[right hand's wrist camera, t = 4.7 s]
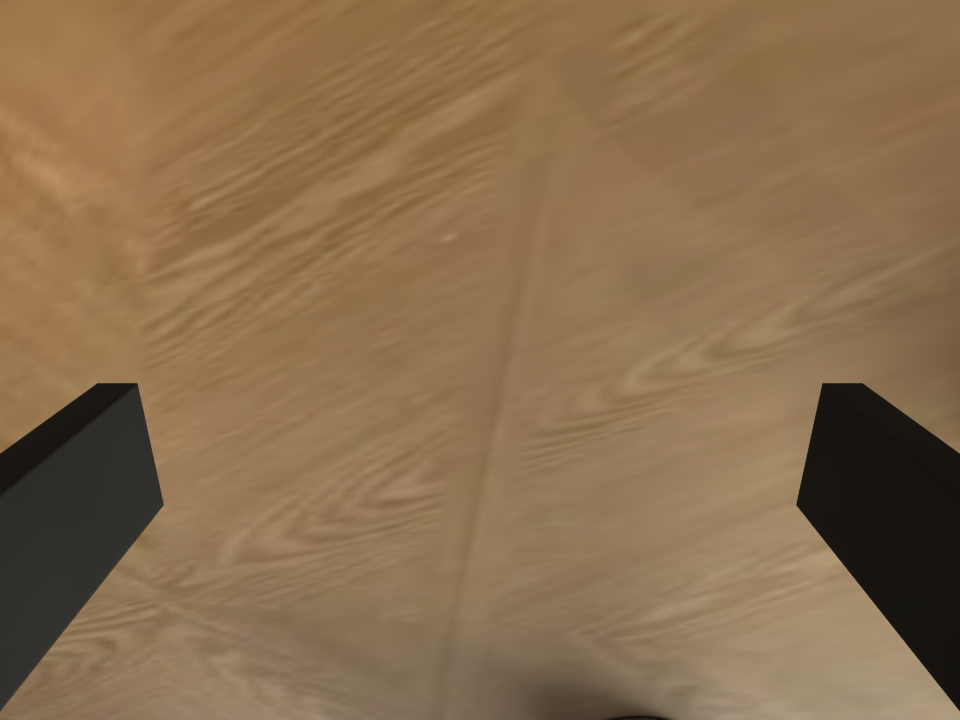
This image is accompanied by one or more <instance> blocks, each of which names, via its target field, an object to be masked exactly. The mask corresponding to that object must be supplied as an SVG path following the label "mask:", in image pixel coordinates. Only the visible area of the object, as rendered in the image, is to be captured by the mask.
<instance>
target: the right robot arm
mask: <svg viewBox="0 0 960 720" xmlns="http://www.w3.org/2000/svg"><path fill="white" fill-rule="evenodd" d="M163 505H164V504H163V499H162V494H161V490H160V485H159V481H158V476H157V471H156V467H155V462H154V457H153V453H152V448H151V444H150V439H149V434H148V430H147V425H146V420H145V416H144V411H143V407H142V402H141V397H140V393H139V388H138V383H97V384H96V385H94V386H93V387H92V388H90V389H89V390H88V391H86V392H85V393H83V394H82V395H81V396H79V397H78V398H77V399H75V400H74V401H72V402H71V403H70V404H68V405H67V406H65V407H64V408H63V409H61V410H60V411H59V412H57V413H56V414H54V415H53V416H52V417H50V418H49V419H48V420H46V421H45V422H43V423H42V424H41V425H39V426H38V427H36V428H35V429H34V430H32V431H31V432H30V433H28V434H27V435H25V436H24V437H23V438H21V439H20V440H19V441H17V442H16V443H14V444H13V445H12V446H10V447H9V448H7V449H6V450H5V451H3V452H2V453H1V454H0V711H1V710H2V708H3V707H4V706H5V705H6V703H7V702H8V701H9V699H10V698H11V697H12V696H13V694H14V693H15V692H16V691H17V689H18V688H19V687H20V686H21V684H22V683H23V682H24V681H25V679H26V678H27V677H28V676H29V674H30V673H31V672H32V670H33V669H34V668H35V667H36V665H37V664H38V663H39V662H40V660H41V659H42V658H43V657H44V655H45V654H46V653H47V652H48V650H49V649H50V648H51V647H52V645H53V644H54V643H55V641H56V640H57V639H58V638H59V636H60V635H61V634H62V633H63V631H64V630H65V629H66V628H67V626H68V625H69V624H70V623H71V621H72V620H73V619H74V618H75V616H76V615H77V614H78V612H79V611H80V610H81V609H82V607H83V606H84V605H85V604H86V602H87V601H88V600H89V599H90V597H91V596H92V595H93V594H94V592H95V591H96V590H97V589H98V587H99V586H100V585H101V583H102V582H103V581H104V580H105V578H106V577H107V576H108V575H109V573H110V572H111V571H112V570H113V568H114V567H115V566H116V565H117V563H118V562H119V561H120V560H121V558H122V557H123V556H124V554H125V553H126V552H127V551H128V549H129V548H130V547H131V546H132V544H133V543H134V542H135V541H136V539H137V538H138V537H139V536H140V534H141V533H142V532H143V531H144V529H145V528H146V527H147V526H148V524H149V523H150V522H151V520H152V519H153V518H154V517H155V515H156V514H157V513H158V512H159V510H160V509H161V508H162V507H163ZM796 505H797V507H798V508H799V509H800V510H801V512H802V513H803V514H804V515H805V517H806V518H807V519H808V520H809V522H810V523H811V524H812V526H813V527H814V528H815V529H816V531H817V532H818V533H819V534H820V536H821V537H822V538H823V539H824V541H825V542H826V543H827V544H828V546H829V547H830V548H831V549H832V551H833V552H834V553H835V554H836V556H837V557H838V558H839V560H840V561H841V562H842V563H843V565H844V566H845V567H846V568H847V570H848V571H849V572H850V573H851V575H852V576H853V577H854V578H855V580H856V581H857V582H858V583H859V585H860V586H861V587H862V589H863V590H864V591H865V592H866V594H867V595H868V596H869V597H870V599H871V600H872V601H873V602H874V604H875V605H876V606H877V607H878V609H879V610H880V611H881V612H882V614H883V615H884V616H885V618H886V619H887V620H888V621H889V623H890V624H891V625H892V626H893V628H894V629H895V630H896V631H897V633H898V634H899V635H900V636H901V638H902V639H903V640H904V641H905V643H906V644H907V645H908V647H909V648H910V649H911V650H912V652H913V653H914V654H915V655H916V657H917V658H918V659H919V660H920V662H921V663H922V664H923V665H924V667H925V668H926V669H927V670H928V672H929V673H930V674H931V676H932V677H933V678H934V679H935V681H936V682H937V683H938V684H939V686H940V687H941V688H942V689H943V691H944V692H945V693H946V694H947V696H948V697H949V698H950V699H951V701H952V702H953V703H954V705H955V706H956V707H957V708H958V710H959V711H960V454H959V453H958V452H957V451H955V450H954V449H953V448H951V447H950V446H948V445H947V444H946V443H944V442H943V441H941V440H940V439H939V438H937V437H936V436H935V435H933V434H932V433H930V432H929V431H928V430H926V429H925V428H924V427H922V426H921V425H919V424H918V423H917V422H915V421H914V420H912V419H911V418H910V417H908V416H907V415H906V414H904V413H903V412H901V411H900V410H899V409H897V408H896V407H895V406H893V405H892V404H890V403H889V402H888V401H886V400H885V399H883V398H882V397H881V396H879V395H878V394H877V393H875V392H874V391H872V390H871V389H870V388H868V387H867V386H866V385H864V384H863V383H822V388H821V393H820V397H819V402H818V407H817V411H816V416H815V420H814V425H813V430H812V434H811V439H810V444H809V448H808V453H807V457H806V462H805V467H804V471H803V476H802V481H801V485H800V490H799V494H798V499H797V504H796ZM619 720H658V719H650V718H627V719H619Z"/></svg>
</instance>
